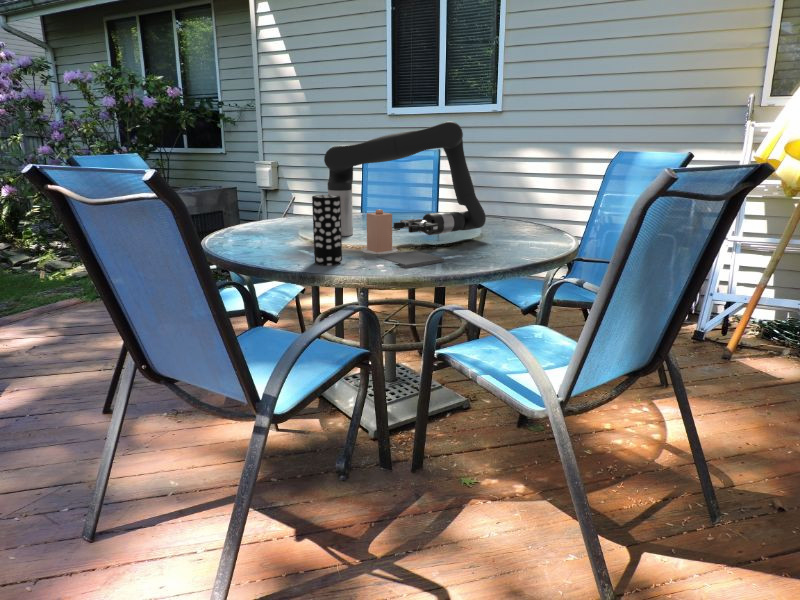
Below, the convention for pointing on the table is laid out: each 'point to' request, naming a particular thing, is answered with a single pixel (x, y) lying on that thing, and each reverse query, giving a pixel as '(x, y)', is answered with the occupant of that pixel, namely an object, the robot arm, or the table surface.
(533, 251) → the table surface
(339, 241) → the spotted tube
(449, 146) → the robot arm
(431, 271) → the table surface
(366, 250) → the saucer
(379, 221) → the tan capped carton
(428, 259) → the mat
